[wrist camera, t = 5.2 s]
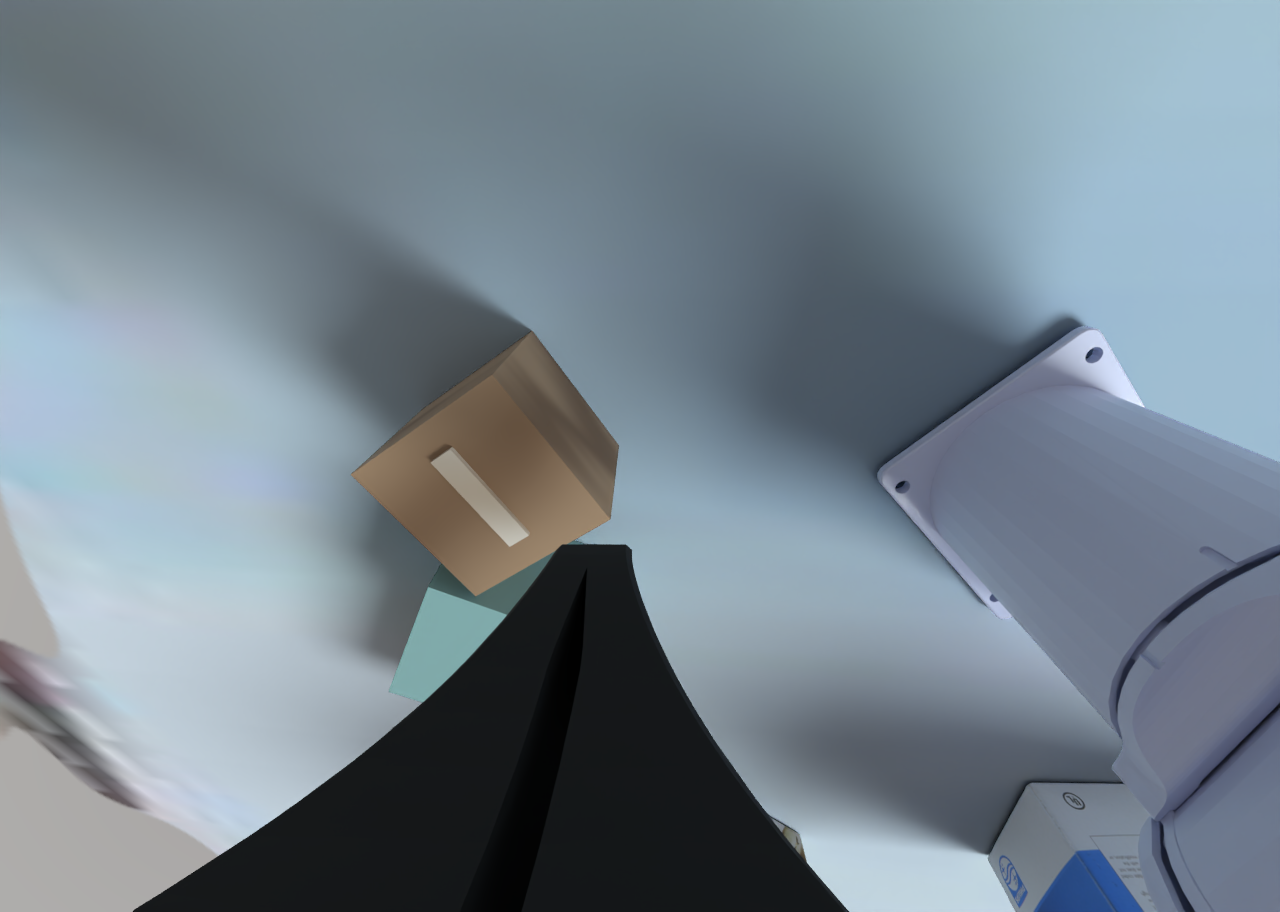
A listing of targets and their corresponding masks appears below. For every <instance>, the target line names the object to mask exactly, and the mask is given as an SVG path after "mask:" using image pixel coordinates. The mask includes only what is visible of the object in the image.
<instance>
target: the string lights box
mask: <svg viewBox="0 0 1280 912" xmlns="http://www.w3.org/2000/svg"><path fill="white" fill-rule="evenodd" d="M1149 816H1150V814H1149V813H1148V812H1147V811H1146V809H1145V808H1144V807H1143V806H1142V805H1141V803H1140V802H1139V801H1138V800H1137V799H1136V797H1135V796H1134V795H1133V794H1132V793H1131V791H1130V790H1129V789H1128V788H1127V786H1126V785H1125V784H1104V783H1030V784H1028V785H1027V786H1026V788H1025V790H1024V792H1023V794H1022V795H1021V797H1020V799H1019V801H1018V803H1017V804H1016V806H1015V808H1014V810H1013V812H1012V813H1011V815H1010V817H1009V819H1008V821H1007V823H1006V825H1005V826H1004V828H1003V830H1002V832H1001V834H1000V836H999V838H998V839H997V841H996V843H995V845H994V848H993V850H992V851H991V853H990V855H989V857H988V861H989V863H990V865H991V866H992V868H993V870H994V872H995V874H996V876H997V877H998V879H999V881H1000V883H1001V885H1002V887H1003V888H1004V890H1005V892H1006V894H1007V896H1008V898H1009V900H1010V902H1011V904H1012V906H1013V908H1014V909H1015V911H1016V912H1157V909H1156V907H1155V905H1154V903H1153V901H1152V899H1151V897H1150V895H1149V893H1148V890H1147V887H1146V884H1145V881H1144V878H1143V875H1142V871H1141V868H1140V862H1139V854H1138V843H1139V837H1140V831H1141V828H1142V827H1143V825H1144V823H1145V822H1146V820H1147V818H1148V817H1149Z"/></svg>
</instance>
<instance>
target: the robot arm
mask: <svg viewBox="0 0 1280 912" xmlns="http://www.w3.org/2000/svg"><path fill="white" fill-rule="evenodd" d="M1092 348H1093V353H1092V355H1091V356H1090V357H1089V358H1087V359H1085V357H1086V354H1087V352H1088V351H1089V350H1090V349H1092ZM877 479H878V481H879V482H880V484H881V485H882V486H883V487H884V488H885V489H886V491H887V492H888V493H889V494H890V495H891V496H892V497H893V499H894V500H895V501H896V502H897V503H898V504H899V505H900V507H901V508H902V509H903V510H904V511H905V512H906V514H907V515H908V516H909V517H910V518H911V519H912V520H913V522H914V523H915V524H916V525H917V526H918V527H919V528H920V530H921V531H922V532H923V533H924V534H925V535H926V536H927V538H928V539H929V540H930V541H931V542H932V543H933V544H934V546H935V547H936V548H937V549H938V550H939V551H940V553H941V554H942V555H943V556H944V557H945V558H946V559H947V561H948V562H949V563H950V564H951V565H952V566H953V567H954V569H955V570H956V571H957V572H958V573H959V574H960V575H961V577H962V578H963V579H964V580H965V581H966V582H967V583H968V585H969V586H970V587H971V588H972V589H973V590H974V592H975V593H976V594H977V595H978V596H979V597H980V598H981V600H982V601H983V602H984V603H985V604H986V605H987V606H988V608H989V609H990V610H991V611H992V612H993V613H994V614H995V616H996V617H998V618H1000V619H1009V618H1012V617H1013V618H1014V619H1015V620H1016V621H1017V622H1018V623H1019V624H1020V625H1021V627H1022V628H1023V629H1024V630H1025V631H1026V632H1027V633H1028V634H1029V636H1030V637H1031V638H1032V639H1033V640H1034V641H1035V642H1036V643H1037V645H1038V646H1039V647H1040V648H1041V649H1042V650H1043V651H1044V652H1045V654H1046V655H1047V656H1048V657H1049V658H1050V659H1051V660H1052V661H1053V662H1054V664H1055V665H1056V666H1057V667H1058V668H1059V669H1060V670H1061V671H1062V673H1063V674H1064V675H1065V676H1066V677H1067V678H1068V679H1069V680H1070V682H1071V683H1072V684H1073V685H1074V686H1075V687H1076V688H1077V689H1078V691H1079V692H1080V693H1081V694H1082V695H1083V696H1084V697H1085V698H1086V699H1087V701H1088V702H1089V703H1090V704H1091V705H1092V706H1093V707H1094V708H1095V710H1096V711H1097V712H1098V713H1099V714H1100V715H1101V716H1102V717H1103V719H1104V720H1105V721H1106V722H1107V723H1108V724H1109V725H1110V726H1111V728H1112V729H1113V730H1114V731H1115V732H1116V733H1117V734H1118V735H1119V737H1121V738H1122V740H1123V745H1122V749H1121V752H1120V754H1119V756H1118V758H1117V759H1116V760H1115V762H1114V763H1113V765H1112V770H1113V771H1114V772H1115V773H1116V774H1117V776H1118V777H1119V778H1120V779H1121V780H1122V782H1123V783H1124V784H1125V785H1126V786H1127V788H1128V789H1129V790H1130V791H1131V793H1132V794H1133V795H1134V796H1135V797H1136V799H1137V800H1138V801H1139V802H1140V803H1141V805H1142V806H1143V807H1144V808H1145V809H1146V811H1147V812H1148V813H1149V814H1150V816H1149V817H1148V818H1147V820H1146V822H1145V823H1144V825H1143V827H1142V828H1141V831H1140V837H1139V843H1138V854H1139V862H1140V868H1141V871H1142V875H1143V878H1144V881H1145V884H1146V887H1147V890H1148V893H1149V895H1150V897H1151V899H1152V901H1153V903H1154V905H1155V907H1156V909H1157V912H1280V462H1277V461H1275V460H1272V459H1270V458H1267V457H1265V456H1262V455H1260V454H1258V453H1255V452H1253V451H1250V450H1248V449H1245V448H1243V447H1240V446H1238V445H1235V444H1233V443H1230V442H1228V441H1226V440H1223V439H1221V438H1218V437H1216V436H1213V435H1211V434H1208V433H1206V432H1203V431H1201V430H1198V429H1196V428H1194V427H1191V426H1189V425H1186V424H1184V423H1181V422H1179V421H1176V420H1174V419H1171V418H1169V417H1166V416H1164V415H1162V414H1159V413H1157V412H1154V411H1152V410H1149V409H1147V408H1146V407H1145V406H1144V404H1143V402H1142V401H1141V399H1140V397H1139V395H1138V394H1137V392H1136V390H1135V389H1134V387H1133V385H1132V383H1131V382H1130V380H1129V378H1128V377H1127V375H1126V373H1125V371H1124V370H1123V368H1122V366H1121V365H1120V363H1119V361H1118V359H1117V358H1116V356H1115V354H1114V353H1113V351H1112V349H1111V347H1110V346H1109V344H1108V342H1107V341H1106V339H1105V337H1104V335H1103V334H1102V332H1101V331H1100V330H1099V329H1096V328H1092V327H1088V326H1082V327H1078V328H1076V329H1074V330H1072V331H1071V332H1069V333H1068V334H1067V335H1065V336H1064V337H1062V338H1061V339H1060V340H1058V341H1057V342H1055V343H1054V344H1053V345H1051V346H1050V347H1048V348H1047V349H1046V350H1044V351H1043V352H1041V353H1040V354H1039V355H1037V356H1036V357H1034V358H1033V359H1032V360H1030V361H1029V362H1027V363H1026V364H1025V365H1023V366H1022V367H1020V368H1019V369H1018V370H1016V371H1015V372H1013V373H1012V374H1011V375H1009V376H1008V377H1006V378H1005V379H1004V380H1002V381H1001V382H999V383H998V384H997V385H995V386H994V387H992V388H991V389H990V390H988V391H987V392H985V393H984V394H983V395H981V396H980V397H978V398H977V399H976V400H974V401H973V402H971V403H970V404H969V405H967V406H966V407H964V408H963V409H961V410H960V411H959V412H957V413H956V414H954V415H953V416H952V417H950V418H949V419H947V420H946V421H945V422H943V423H942V424H940V425H939V426H938V427H936V428H935V429H933V430H932V431H931V432H929V433H928V434H926V435H925V436H924V437H922V438H921V439H919V440H918V441H917V442H915V443H914V444H912V445H911V446H910V447H908V448H907V449H905V450H904V451H903V452H901V453H900V454H898V455H897V456H896V457H894V458H893V459H891V460H890V461H889V462H887V463H886V464H884V465H883V466H882V467H881V468H880V469H879V471H878V474H877ZM901 481H905V484H904V485H903V486H902V487H900V488H896V485H897V484H898V483H899V482H901ZM991 594H992V595H991ZM133 912H849V911H848V910H847V909H846V908H845V907H844V905H843V904H842V903H841V902H840V901H839V900H838V899H837V897H836V896H835V895H834V894H833V893H832V892H831V891H830V889H829V888H828V887H827V886H826V885H825V884H824V882H823V881H822V880H821V879H820V878H819V877H818V876H817V874H816V873H815V872H814V871H813V870H812V868H811V867H810V866H809V865H808V864H807V862H806V861H805V860H804V859H803V858H802V856H801V855H800V854H799V853H798V852H797V850H796V849H795V848H794V847H793V846H792V844H791V843H790V842H789V841H788V839H787V838H786V837H785V836H784V834H783V833H782V832H781V831H780V829H779V828H778V827H777V825H776V824H775V823H774V822H773V820H772V819H771V818H770V816H769V815H768V814H767V813H766V811H765V810H764V809H763V808H762V806H761V805H760V804H759V802H758V801H757V800H756V799H755V797H754V796H753V794H752V793H751V791H750V790H749V789H748V787H747V786H746V784H745V783H744V782H743V780H742V779H741V777H740V776H739V775H738V773H737V772H736V770H735V769H734V767H733V766H732V765H731V763H730V762H729V760H728V759H727V758H726V756H725V755H724V753H723V752H722V751H721V749H720V748H719V746H718V745H717V743H716V742H715V740H714V739H713V737H712V736H711V734H710V733H709V731H708V729H707V728H706V726H705V725H704V723H703V721H702V720H701V718H700V717H699V715H698V713H697V712H696V710H695V709H694V707H693V705H692V703H691V702H690V700H689V698H688V696H687V695H686V693H685V691H684V690H683V688H682V686H681V684H680V682H679V680H678V679H677V677H676V675H675V673H674V671H673V669H672V667H671V665H670V663H669V661H668V659H667V657H666V655H665V653H664V651H663V649H662V647H661V645H660V642H659V640H658V638H657V636H656V633H655V631H654V629H653V627H652V624H651V621H650V619H649V616H648V614H647V611H646V609H645V606H644V603H643V601H642V598H641V595H640V592H639V588H638V585H637V581H636V578H635V574H634V569H633V564H632V550H631V549H630V548H629V547H628V546H627V545H598V544H562V545H561V546H560V547H559V548H558V549H557V550H556V551H555V552H554V554H553V555H552V557H551V558H550V560H549V561H548V563H547V564H546V565H545V567H544V568H543V570H542V571H541V572H540V574H539V575H538V576H537V578H536V579H535V580H534V582H533V583H532V584H531V586H530V587H529V588H528V590H527V591H526V592H525V593H524V595H523V596H522V597H521V598H520V600H519V601H518V602H517V603H516V605H515V606H514V607H513V608H512V610H511V611H510V612H509V613H508V614H507V616H506V617H505V618H504V619H503V620H502V622H501V623H500V624H499V625H498V626H497V627H496V628H495V630H494V631H493V632H492V633H491V634H490V635H489V636H488V637H487V638H486V639H485V641H484V642H483V643H482V644H481V645H480V646H479V647H478V648H477V649H476V650H475V652H474V653H473V654H472V655H471V656H470V657H469V658H468V659H467V660H466V661H465V662H464V663H463V664H462V665H461V666H460V667H459V668H458V669H457V670H456V671H455V672H454V673H453V674H452V675H451V676H450V677H449V678H448V679H447V680H446V681H445V682H444V683H443V684H442V685H441V686H440V687H439V688H438V689H437V690H436V691H435V692H433V693H432V694H431V695H430V696H429V697H428V698H427V699H426V700H425V701H424V702H423V703H422V704H421V705H419V706H418V707H417V708H416V709H415V710H414V711H413V712H411V713H410V714H409V715H408V716H407V717H406V718H404V719H403V720H402V721H401V722H400V723H399V724H397V725H396V726H395V727H394V728H393V729H392V730H391V731H389V732H388V733H387V734H386V735H385V736H384V737H382V738H381V739H380V740H379V741H378V742H376V743H375V744H374V745H373V746H371V747H370V748H369V749H368V750H366V751H365V752H364V753H363V754H362V755H360V756H359V757H358V758H356V759H355V760H354V761H353V762H351V763H350V764H349V765H347V766H346V767H345V768H343V769H342V770H341V771H339V772H338V773H337V774H335V775H334V776H333V777H331V778H330V779H329V780H327V781H326V782H325V783H323V784H322V785H321V786H319V787H318V788H316V789H315V790H314V791H312V792H311V793H310V794H308V795H307V796H306V797H304V798H303V799H302V800H300V801H299V802H297V803H296V804H295V805H293V806H292V807H290V808H289V809H288V810H286V811H285V812H283V813H282V814H281V815H279V816H278V817H276V818H275V819H274V820H272V821H271V822H269V823H268V824H266V825H265V826H263V827H262V828H260V829H259V830H257V831H256V832H255V833H253V834H252V835H250V836H249V837H247V838H246V839H244V840H242V841H241V842H239V843H238V844H236V845H235V846H233V847H232V848H230V849H229V850H227V851H225V852H224V853H222V854H221V855H219V856H218V857H216V858H215V859H213V860H212V861H210V862H209V863H207V864H206V865H204V866H202V867H201V868H199V869H198V870H196V871H195V872H193V873H191V874H190V875H188V876H187V877H185V878H184V879H182V880H181V881H179V882H178V883H176V884H174V885H173V886H171V887H170V888H168V889H167V890H165V891H164V892H162V893H161V894H159V895H157V896H156V897H154V898H152V899H151V900H150V901H148V902H146V903H144V904H143V905H141V906H139V907H138V908H136V909H135V910H134V911H133Z"/></svg>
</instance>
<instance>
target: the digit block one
mask: <svg viewBox="0 0 1280 912" xmlns="http://www.w3.org/2000/svg"><path fill="white" fill-rule="evenodd" d="M618 449H619V445H618V444H617V442H616V441H615V440H614V438H613V437H612V436H611V434H610V433H609V432H608V430H607V429H606V428H605V426H604V425H603V424H602V422H601V421H600V420H599V418H598V417H597V416H596V415H595V413H594V412H593V411H592V409H591V408H590V407H589V405H588V404H587V403H586V401H585V400H584V399H583V397H582V396H581V395H580V393H579V392H578V391H577V389H576V388H575V387H574V385H573V384H572V383H571V381H570V380H569V379H568V377H567V376H566V375H565V373H564V372H563V371H562V369H561V368H560V367H559V365H558V364H557V363H556V362H555V360H554V359H553V358H552V356H551V355H550V354H549V352H548V351H547V350H546V348H545V347H544V346H543V344H542V343H541V342H540V340H539V339H538V338H537V336H536V335H535V334H534V332H533V331H531V332H530V333H528V334H527V335H525V336H524V337H523V338H521V339H520V340H518V341H517V342H516V343H514V344H513V345H511V346H510V347H509V348H507V349H506V350H504V351H503V352H502V353H500V354H499V355H498V356H496V357H495V358H493V359H492V360H491V361H489V362H488V363H486V364H485V365H484V366H482V367H481V368H479V369H478V370H477V371H475V372H474V373H472V374H471V375H470V376H468V377H467V378H465V379H464V380H463V381H461V382H460V383H458V384H457V385H456V386H454V387H453V388H451V389H450V390H449V391H447V392H446V393H445V394H443V395H442V396H440V397H439V398H438V399H436V400H435V401H433V402H432V403H431V404H429V405H428V406H426V407H425V408H424V409H422V410H421V411H420V412H419V413H418V414H417V415H416V416H414V417H413V418H412V419H411V420H410V421H409V422H408V423H407V424H406V425H405V426H404V427H402V428H401V429H400V430H399V431H398V432H397V433H396V434H395V435H394V436H393V437H391V438H390V439H389V440H388V441H387V442H386V443H385V444H384V445H383V446H382V447H380V448H379V449H378V450H377V451H376V452H375V453H374V454H373V455H372V456H371V457H370V458H368V459H367V460H366V461H365V462H364V463H363V464H362V465H361V466H360V467H359V468H357V469H356V470H355V471H354V472H353V473H352V474H351V475H352V476H353V477H354V478H355V479H356V480H357V481H358V482H359V483H360V484H361V485H362V486H363V487H364V488H365V489H366V490H367V491H368V492H369V493H370V494H371V495H372V496H373V497H374V498H375V499H376V500H377V501H378V502H379V503H380V504H381V505H382V506H383V507H384V508H385V509H386V510H388V511H389V512H390V513H391V514H392V515H393V516H394V517H395V518H396V519H397V520H398V521H399V522H400V523H401V524H402V525H403V526H404V527H405V528H406V529H407V530H408V531H409V532H410V533H411V534H412V535H413V536H414V537H415V538H416V539H417V540H418V541H419V542H420V543H421V544H422V545H423V546H424V547H425V548H426V549H427V550H429V551H430V552H431V553H432V554H433V555H434V556H435V557H436V558H437V559H438V560H439V561H440V562H441V563H442V564H443V565H444V566H445V567H446V568H447V569H448V570H449V571H450V572H451V573H452V574H453V575H454V576H455V577H456V578H457V579H458V580H459V581H460V582H461V583H462V584H463V585H464V586H465V587H466V588H467V589H468V590H469V591H471V592H472V593H473V594H474V595H475V596H477V595H479V594H481V593H482V592H484V591H486V590H488V589H489V588H491V587H493V586H495V585H496V584H498V583H500V582H502V581H503V580H505V579H507V578H509V577H510V576H512V575H514V574H516V573H517V572H519V571H521V570H523V569H524V568H526V567H528V566H530V565H531V564H533V563H535V562H537V561H538V560H540V559H542V558H544V557H545V556H547V555H549V554H551V553H552V552H554V551H556V550H557V549H558V548H559V547H560V546H561V545H562V544H568V543H570V542H572V541H573V540H575V539H577V538H579V537H580V536H582V535H584V534H586V533H587V532H589V531H591V530H593V529H594V528H596V527H598V526H600V525H601V524H603V523H605V522H607V521H608V520H610V519H611V510H612V501H613V493H614V484H615V475H616V466H617V458H618Z"/></svg>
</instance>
